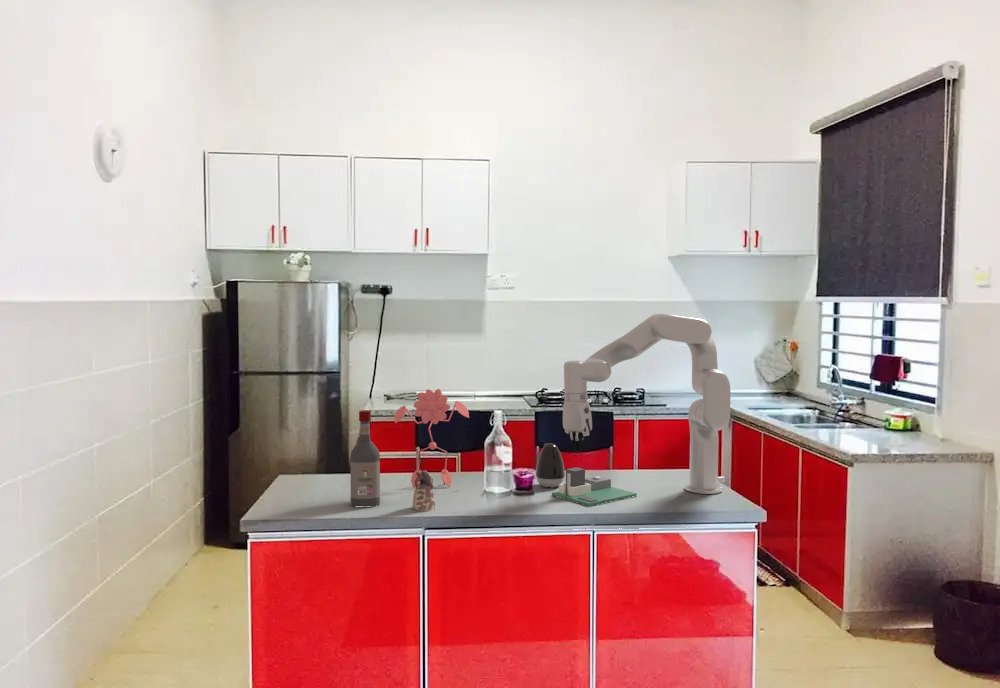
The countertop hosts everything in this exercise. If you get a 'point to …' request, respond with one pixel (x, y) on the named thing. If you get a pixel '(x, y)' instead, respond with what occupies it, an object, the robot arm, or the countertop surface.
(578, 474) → the plug
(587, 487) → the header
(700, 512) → the countertop surface
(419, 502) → the figurine
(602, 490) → the board
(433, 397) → the figurine
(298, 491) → the countertop surface
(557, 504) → the countertop surface
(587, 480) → the grey flat block
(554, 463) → the dark egg-shaped speaker
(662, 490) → the countertop surface
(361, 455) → the liquor
